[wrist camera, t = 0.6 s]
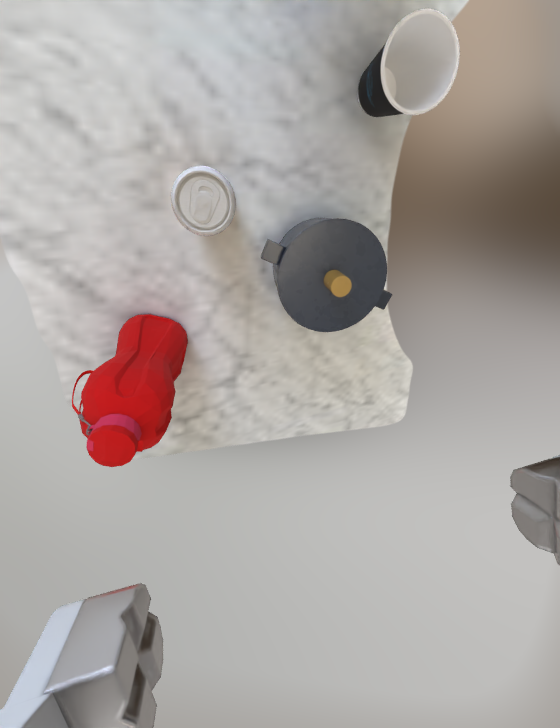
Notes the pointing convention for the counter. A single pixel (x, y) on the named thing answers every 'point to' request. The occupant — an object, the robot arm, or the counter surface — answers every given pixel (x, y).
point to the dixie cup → (412, 66)
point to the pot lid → (331, 275)
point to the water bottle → (132, 390)
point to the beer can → (203, 200)
